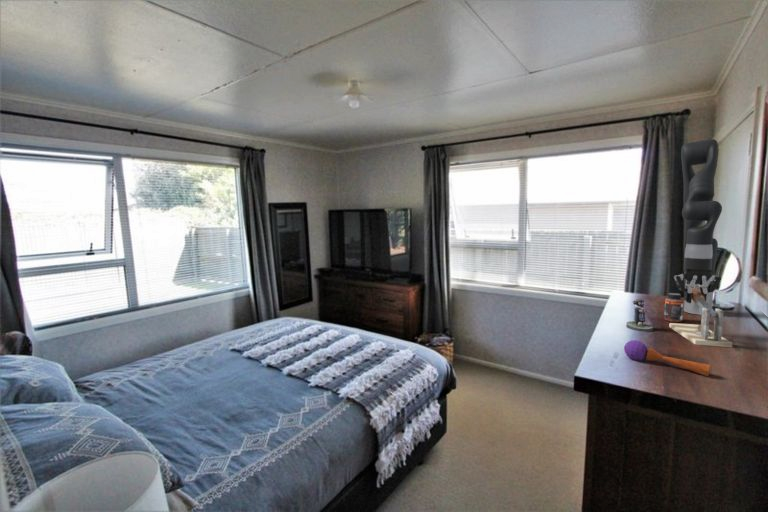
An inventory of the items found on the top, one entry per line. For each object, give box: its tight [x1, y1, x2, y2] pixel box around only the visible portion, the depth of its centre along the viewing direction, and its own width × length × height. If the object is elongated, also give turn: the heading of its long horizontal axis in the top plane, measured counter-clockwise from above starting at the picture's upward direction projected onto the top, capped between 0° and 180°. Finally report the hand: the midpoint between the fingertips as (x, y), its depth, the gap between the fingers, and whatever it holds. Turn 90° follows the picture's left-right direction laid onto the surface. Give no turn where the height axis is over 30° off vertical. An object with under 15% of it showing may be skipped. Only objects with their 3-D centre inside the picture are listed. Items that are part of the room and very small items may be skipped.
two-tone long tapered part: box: [623, 339, 711, 378], centre depth 105 cm, size 6×6×20 cm
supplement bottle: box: [663, 292, 684, 323], centre depth 146 cm, size 6×6×11 cm
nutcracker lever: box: [691, 288, 718, 318], centre depth 126 cm, size 17×3×4 cm, turn 161°
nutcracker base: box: [668, 308, 733, 348], centre depth 128 cm, size 20×10×12 cm, turn 161°
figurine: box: [625, 297, 654, 333], centre depth 138 cm, size 8×8×12 cm
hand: (694, 302), depth 131 cm, fingers open, 3 cm apart
